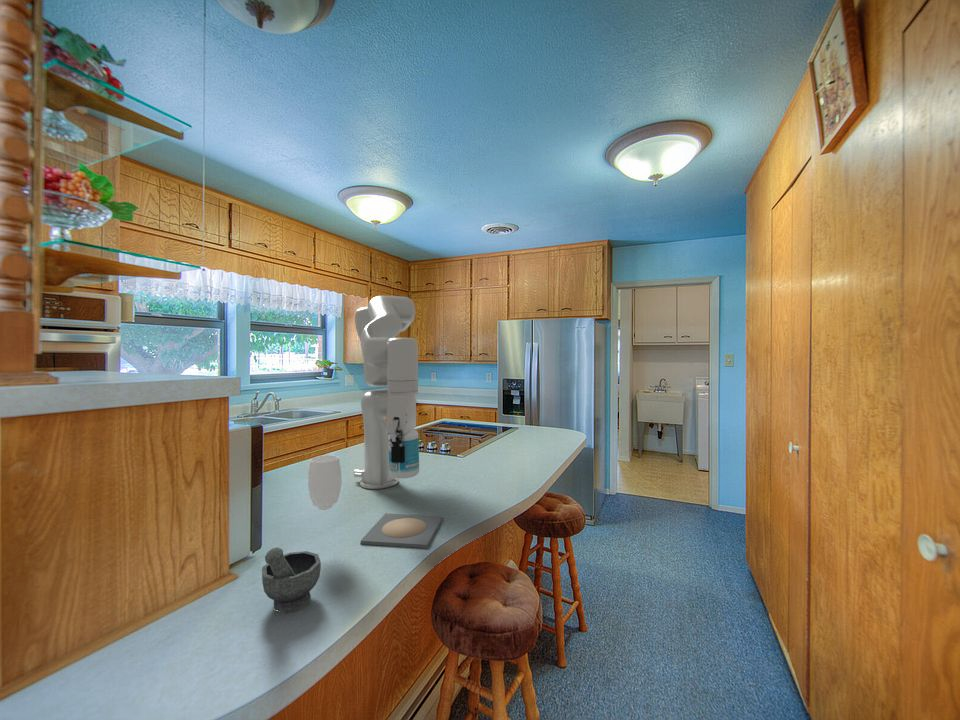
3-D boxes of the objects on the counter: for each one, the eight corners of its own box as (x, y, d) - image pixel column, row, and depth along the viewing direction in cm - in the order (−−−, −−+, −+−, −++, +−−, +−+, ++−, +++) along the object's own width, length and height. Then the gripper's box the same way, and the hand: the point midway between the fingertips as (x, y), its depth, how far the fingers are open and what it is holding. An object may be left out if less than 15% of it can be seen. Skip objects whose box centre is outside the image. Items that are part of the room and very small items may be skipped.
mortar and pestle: (284, 584, 79) (282, 523, 79) (330, 587, 78) (329, 525, 77) (244, 623, 68) (242, 552, 67) (297, 627, 67) (295, 555, 66)
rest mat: (360, 544, 95) (360, 540, 95) (385, 516, 111) (385, 512, 111) (427, 548, 93) (427, 544, 93) (442, 519, 109) (442, 515, 109)
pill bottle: (422, 470, 105) (421, 418, 105) (415, 479, 98) (414, 423, 97) (394, 470, 106) (393, 418, 105) (384, 479, 98) (384, 423, 98)
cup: (322, 559, 88) (321, 464, 88) (301, 551, 92) (300, 460, 91) (349, 546, 94) (348, 457, 94) (328, 538, 98) (327, 453, 98)
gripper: (399, 384, 110) (400, 449, 111) (374, 390, 93) (375, 467, 93) (426, 384, 109) (427, 449, 110) (406, 391, 92) (407, 468, 92)
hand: (403, 457), depth 101 cm, fingers closed on pill bottle, 7 cm apart
